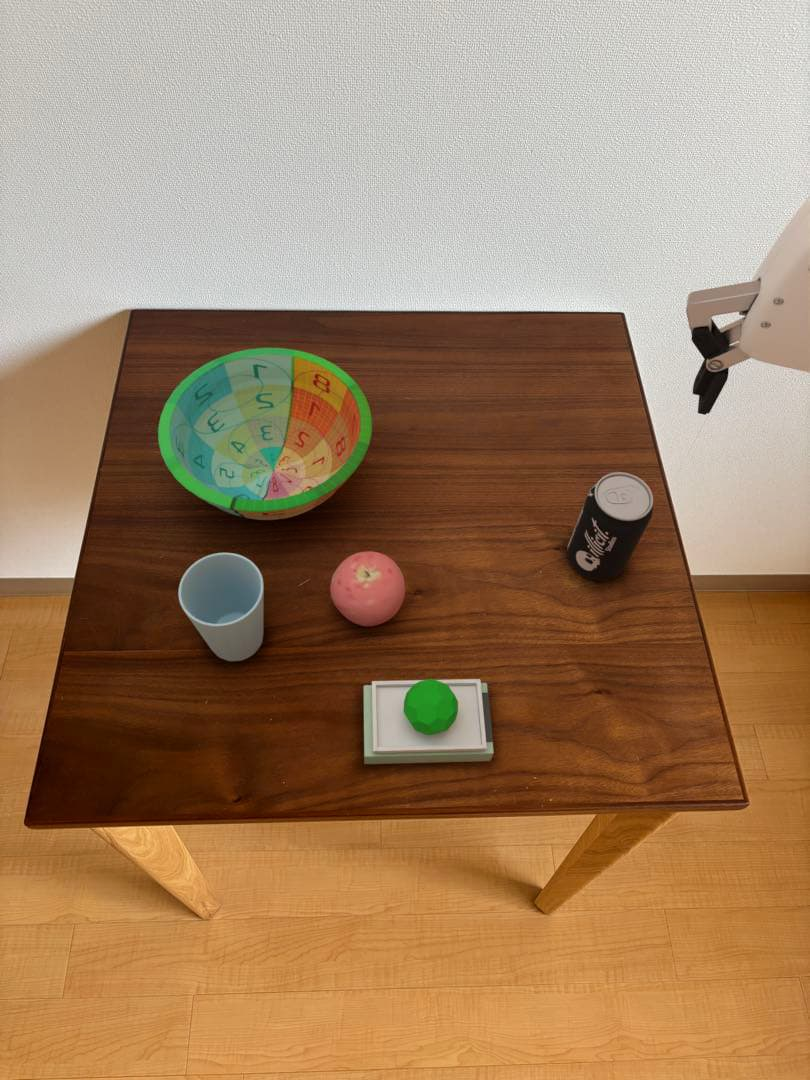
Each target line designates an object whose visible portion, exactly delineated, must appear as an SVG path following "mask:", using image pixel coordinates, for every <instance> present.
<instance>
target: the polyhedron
mask: <svg viewBox="0 0 810 1080" xmlns="http://www.w3.org/2000/svg"><path fill="white" fill-rule="evenodd" d="M423 680H424V681H420V682H418V683H416V684H414V685H413V686H412V687H411V688H410V689H409V691H408V692H407V693H406V696H405V700H404V711H403V712H404V714H405V716H406V717H407V719H408V720H409V722H410V724H411V725H412V727H413V728H414V729H415V730H416V731H418V732H421V733H423V734H426V735H432V734H437V733H441V732H443V731H446V730H448V729H449V728H450V727H451V725H452V724H453V723H454V722H455V720H456V717H457V714H458V700H457V699H456V697H455V695H454V693H453V692H452V690H451V689H450V688H449V686H448V685H447V684H445V683H442V682H440V681H437V680H438V679H433V678H429V679H423Z"/></svg>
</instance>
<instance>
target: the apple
mask: <svg viewBox="0 0 810 1080" xmlns="http://www.w3.org/2000/svg"><path fill="white" fill-rule="evenodd" d="M329 589H330V590H329V591H330V598H331V600H332V602H333V604H334V606H335V608H337V610H338V611H339V613H340V614H341V615H342V616H343V617H345V619H347V620H348V621H350V622H352V623H353V624H356V625H358V626H361V627H376V626H378V625H382V624H385V623H386V622H388V621H389V620H391V619H392V618H394V617H395V615H397V613H398V612H399V610H400V609H401V607H402V605H403V603H404V600H405V595H406V594H405V593H406V583H405V578H404V574H403V572H402V571H401V569H400V567H399V565H398V564H397V563H396V562H395V561H394V560H393V559H392V558H391V557H389V556H387V555H386V554H383V553H382V552H377V551H372V550H369V551H368V550H367V551H360V552H355V553H354V554H351V555H350V556H347V558H345V559H344V560H343V561H342V562H340V564H339V566H338V567H337V568H336V570H335V571H334V573H333V575H332V577H331V581H330V585H329Z"/></svg>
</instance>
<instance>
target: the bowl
mask: <svg viewBox="0 0 810 1080" xmlns="http://www.w3.org/2000/svg"><path fill="white" fill-rule="evenodd" d="M370 408H371V407H370V404H369V402H368V399H367V398H366V395H365V393H364V392H363V391H362V389H361V388H360V386H359V385H358V383H357V382H356V381H355V380H354V379H353V378H352V377H351V376H350V375H349V374H348V373H347V372H345V371H344V370H343V369H341V367H339V366H338V365H336V364H335V363H333V362H331V361H329V360H327V359H326V358H323V357H321V356H317V355H315V354H313V353H310V352H306V351H302V350H299V349H298V350H297V349H292V348H284V347H283V348H282V347H260V348H249V349H245V350H240V351H234V352H231V353H228V354H225V355H223V356H220V357H217V358H215V359H213V360H210V361H209V362H207V363H205V364H203V365H201V366H200V367H198V368H197V369H195V370H194V371H192V373H190V374H189V375H188V376H186V377H185V378H184V379H183V380H182V381H181V382H180V383H179V384H178V385H177V386H176V387H175V389H174V390H173V391H172V392H171V394H170V396H169V397H168V398H167V400H166V402H165V404H164V406H163V409H162V412H161V414H160V418H159V422H158V428H157V436H158V437H157V439H158V446H159V451H160V454H161V458H162V459H163V462H164V463H165V466H166V468H167V469H168V471H169V472H170V473H171V474H172V476H173V478H175V480H176V481H177V482H178V483H179V484H181V486H183V488H185V489H186V490H187V491H189V492H190V493H192V494H193V495H194V496H196V497H198V498H199V499H201V500H203V501H205V502H206V503H208V504H210V505H212V506H213V507H216V508H217V509H219V510H221V511H223V512H226V513H228V514H230V515H232V516H233V515H234V516H237V517H241V518H243V519H250V520H257V521H276V520H284V519H288V518H292V517H296V516H299V515H302V514H305V513H307V512H309V511H311V510H312V509H314V508H316V507H318V506H320V505H321V504H323V503H325V502H326V501H327V500H329V498H331V497H332V496H333V495H334V494H335V493H336V492H337V491H338V490H339V489H340V488H341V487H342V486H343V485H344V484H345V483H346V482H347V481H348V479H349V478H350V477H351V476H352V475H353V474H354V473H355V472H356V471H357V469H358V468H359V466H360V465H361V463H362V461H363V460H364V458H365V457H366V454H367V451H368V449H369V447H370V444H371V440H372V439H371V438H372V435H373V417H372V413H371V412H372V411H371V409H370Z"/></svg>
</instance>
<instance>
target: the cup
mask: <svg viewBox="0 0 810 1080" xmlns="http://www.w3.org/2000/svg"><path fill="white" fill-rule="evenodd" d="M188 567H189V568H187V570H186V571H185V572H184V573H183V575H182V576H181V579H180V582H179V586H178V594H177V595H178V600H179V601H178V602H179V604H180V606H181V609H182V611H183V612H184V613H185V614H186V616H187V618H188V619H189V620H190V621H191V623H192V625H193V626H194V627H195V629H196V630H197V631H198V633H199V634H200V636H201V637H202V638H203V640H204V641H205V643H206V644H207V646H208V647H209V649H210V650H211V651H212V652H213V653H214V654H215V655H216V657H217V658H219V659H222V660H225V661H227V662H241V661H244V660H247V659H248V658H250V657H252V656H253V655H255V654H256V652H257V651H258V650H259V648H260V647H261V646H262V644H263V639H264V608H265V607H264V599H265V598H264V596H265V593H264V592H265V591H264V590H265V588H264V587H265V586H264V585H265V583H264V577H263V575H262V572H261V571H260V569H259V568H258V566H257V565H256V564H255V563H254V562H253V561H252V560H250V559H249V558H247V557H246V556H243V555H241V554H239V553H234V552H233V553H232V552H217V553H216V552H215V553H212V554H208V555H206V556H203V557H202V558H200V559H198V560H196V561H195V562H194V563H193V564H191V565H190V566H188Z"/></svg>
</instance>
